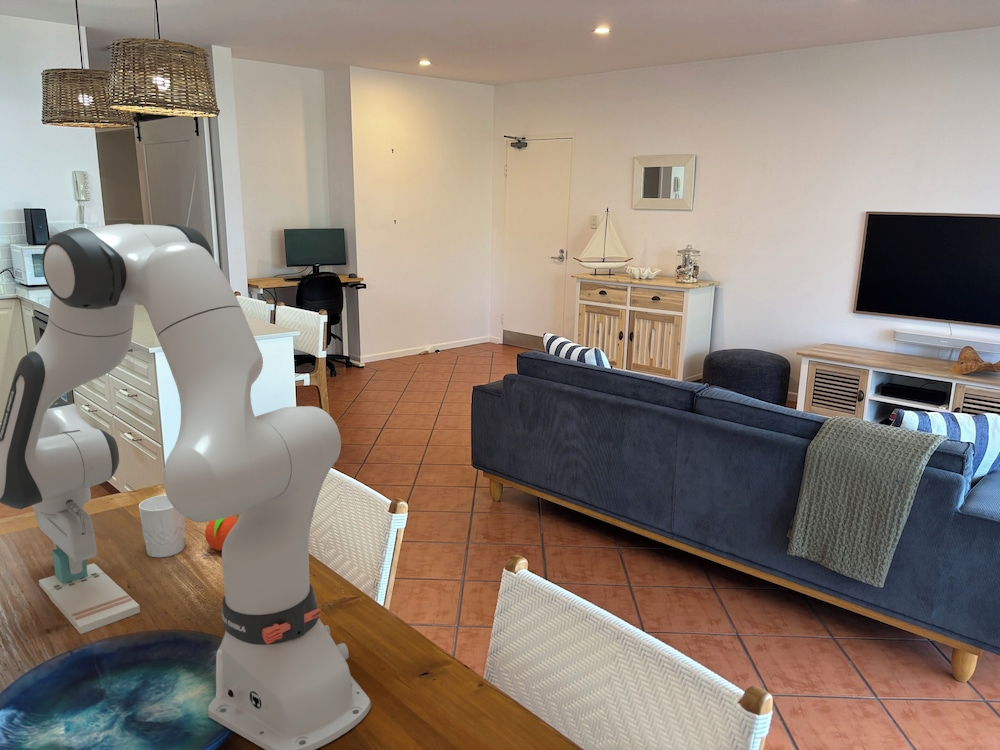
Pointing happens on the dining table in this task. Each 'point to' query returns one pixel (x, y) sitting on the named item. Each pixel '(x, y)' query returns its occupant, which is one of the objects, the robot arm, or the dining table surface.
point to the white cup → (161, 527)
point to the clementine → (219, 531)
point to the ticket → (93, 602)
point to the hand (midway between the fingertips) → (70, 566)
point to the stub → (66, 572)
